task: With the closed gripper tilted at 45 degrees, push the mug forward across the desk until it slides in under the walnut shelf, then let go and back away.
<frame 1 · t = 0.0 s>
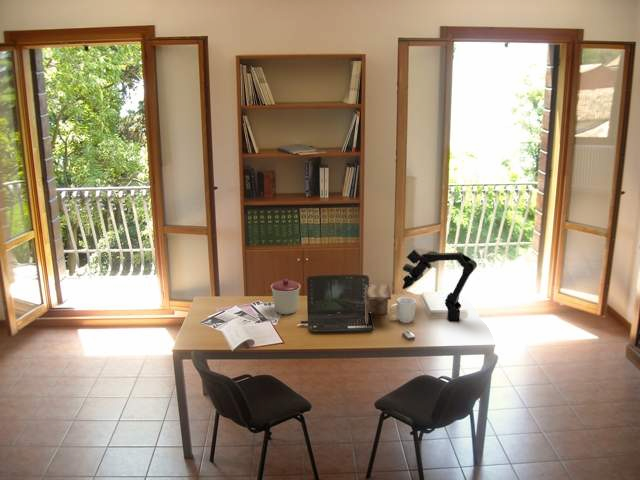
hand: (405, 286, 373), 15 cm above the table, tool tilted 35°, fingers open, 9 cm apart
canister: (286, 311, 373), on the table
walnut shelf: (376, 319, 362), on the table
mug: (403, 321, 361), on the table
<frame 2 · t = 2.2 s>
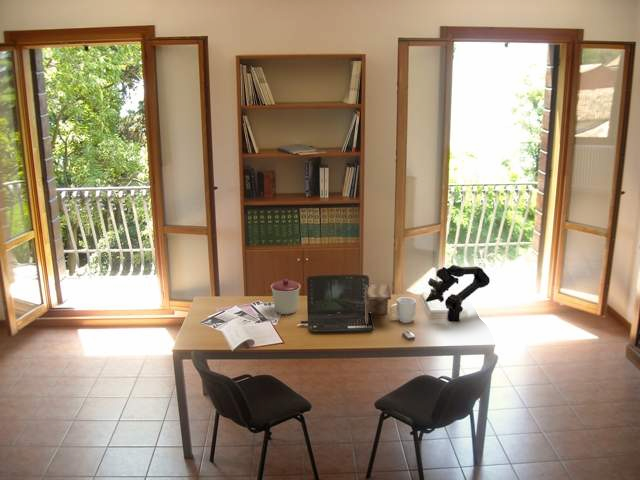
hand: (426, 301, 357), 13 cm above the table, tool tilted 45°, fingers closed
nothing on the table moved.
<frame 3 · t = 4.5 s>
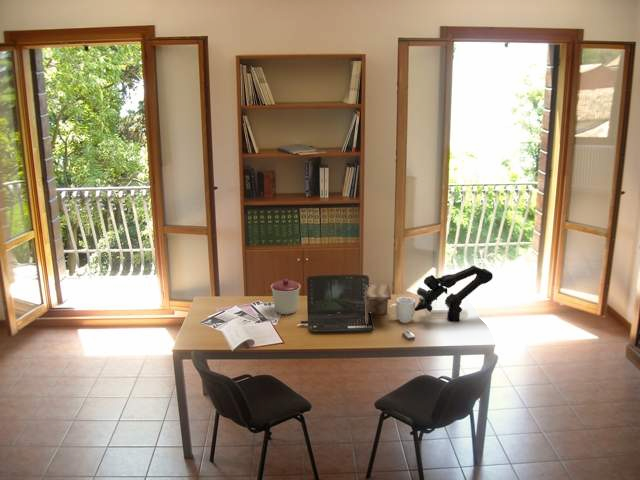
hand: (414, 310, 358), 7 cm above the table, tool tilted 45°, fingers closed, pressing on mug
mug: (403, 320, 361), on the table, touching gripper
everything else where it was.
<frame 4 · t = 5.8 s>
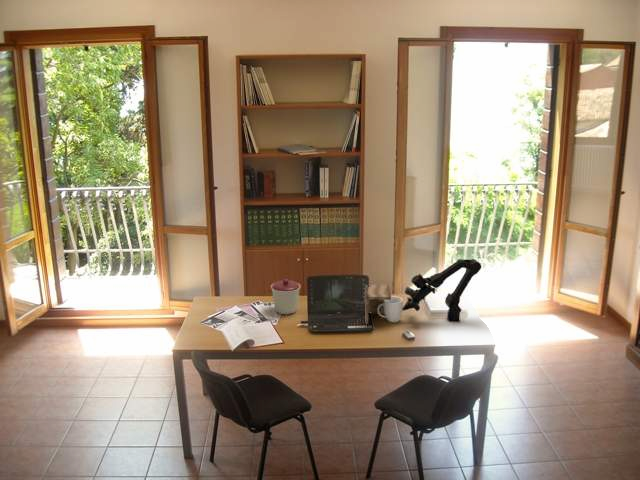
hand: (402, 309, 359), 7 cm above the table, tool tilted 45°, fingers closed, pressing on mug
mug: (391, 320, 361), on the table, touching gripper
everything else where it was.
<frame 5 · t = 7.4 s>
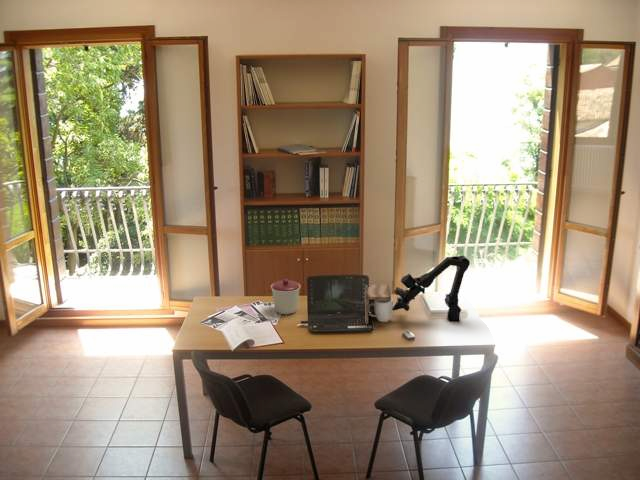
hand: (392, 309, 359), 7 cm above the table, tool tilted 45°, fingers closed, pressing on mug
mug: (381, 320, 361), on the table, touching gripper, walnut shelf
everything else where it was.
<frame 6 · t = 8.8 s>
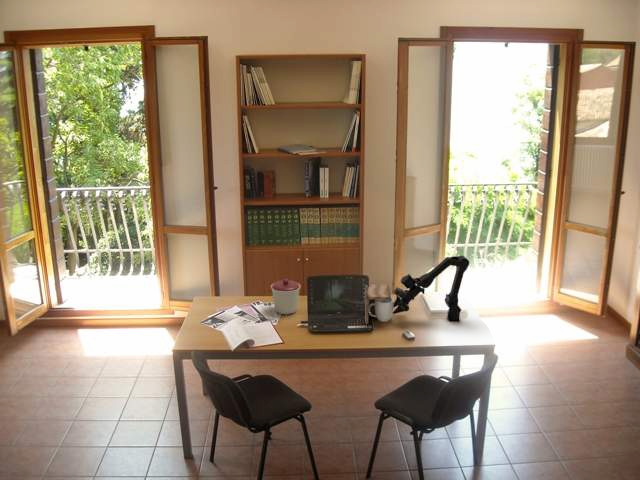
hand: (392, 310, 359), 7 cm above the table, tool tilted 45°, fingers open, 9 cm apart
mug: (381, 319, 362), on the table
everything else where it was.
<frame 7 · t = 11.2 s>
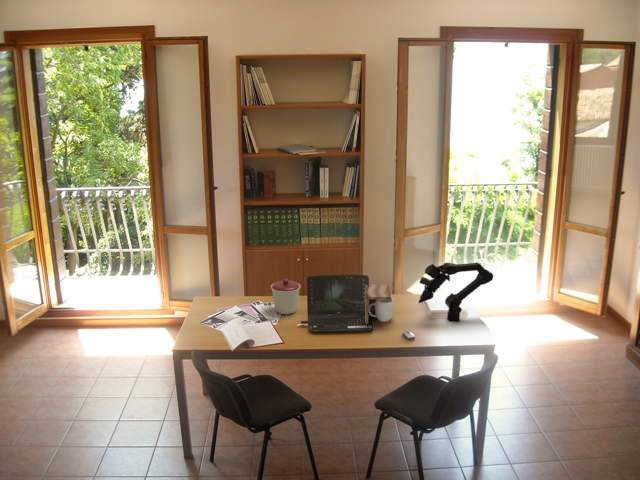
hand: (419, 300, 358), 12 cm above the table, tool tilted 40°, fingers open, 9 cm apart
nothing on the table moved.
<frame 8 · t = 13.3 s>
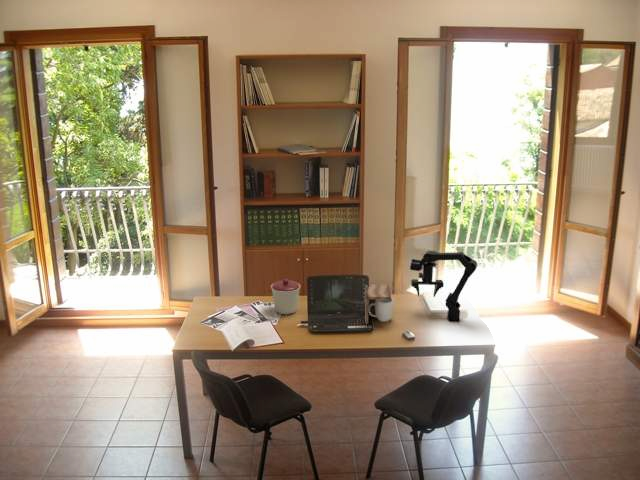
hand: (426, 296, 365), 12 cm above the table, tool pointing down, fingers open, 9 cm apart
nothing on the table moved.
at the end: mug inside the target area (1.0 cm from its centre), on the table; mug tilted 0°; mug moved 12.9 cm from its start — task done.
